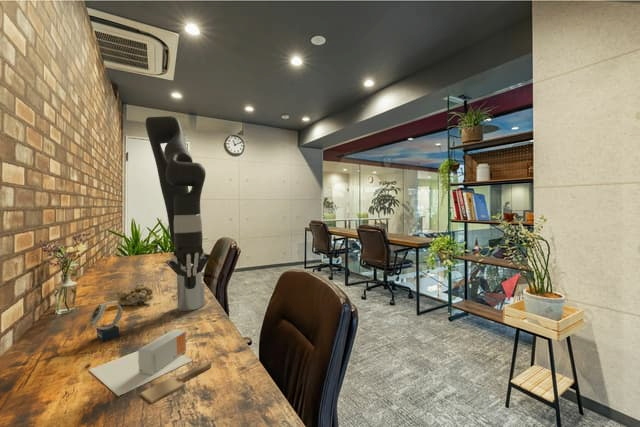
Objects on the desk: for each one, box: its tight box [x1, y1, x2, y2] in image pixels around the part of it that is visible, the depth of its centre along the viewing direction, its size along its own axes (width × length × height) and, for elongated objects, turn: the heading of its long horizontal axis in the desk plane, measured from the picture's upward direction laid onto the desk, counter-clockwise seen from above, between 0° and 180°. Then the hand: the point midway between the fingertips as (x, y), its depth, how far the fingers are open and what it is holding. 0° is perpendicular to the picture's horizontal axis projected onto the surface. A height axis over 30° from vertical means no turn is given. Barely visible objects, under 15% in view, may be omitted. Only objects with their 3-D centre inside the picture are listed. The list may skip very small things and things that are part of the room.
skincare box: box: [137, 328, 187, 375], centre depth 75 cm, size 6×4×12 cm
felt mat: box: [88, 350, 193, 397], centre depth 74 cm, size 17×18×1 cm
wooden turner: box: [140, 360, 212, 404], centre depth 67 cm, size 15×5×1 cm, turn 145°
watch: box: [90, 301, 124, 343], centre depth 90 cm, size 6×8×11 cm
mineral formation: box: [115, 282, 154, 307], centre depth 123 cm, size 8×13×15 cm
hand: (190, 288), depth 85 cm, fingers closed
